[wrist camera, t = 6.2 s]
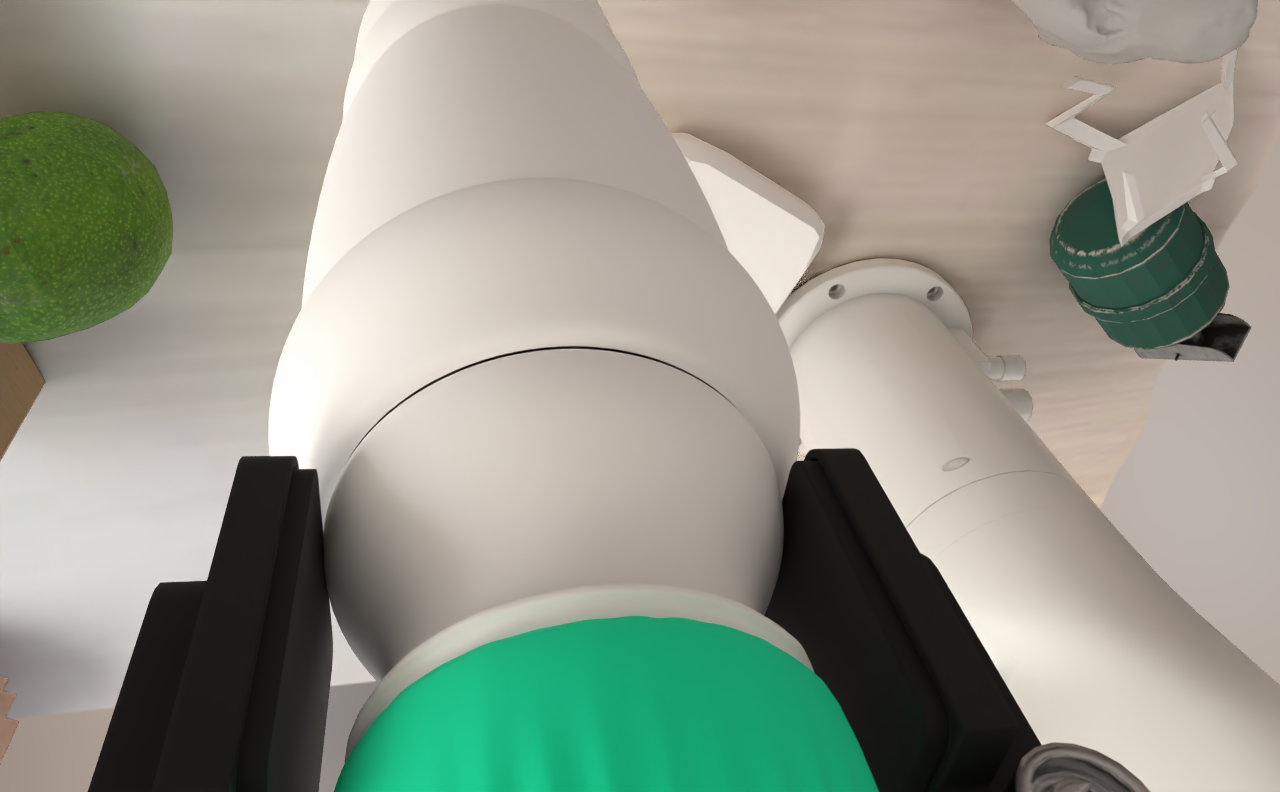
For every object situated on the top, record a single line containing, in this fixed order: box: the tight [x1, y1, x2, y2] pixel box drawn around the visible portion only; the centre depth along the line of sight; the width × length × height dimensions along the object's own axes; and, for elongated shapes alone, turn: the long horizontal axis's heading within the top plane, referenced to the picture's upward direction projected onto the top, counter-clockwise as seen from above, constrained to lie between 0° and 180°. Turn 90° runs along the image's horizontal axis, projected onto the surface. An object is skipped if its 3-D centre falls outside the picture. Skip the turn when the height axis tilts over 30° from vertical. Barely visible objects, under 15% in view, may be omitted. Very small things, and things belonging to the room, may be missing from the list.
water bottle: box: [269, 0, 879, 792], centre depth 17 cm, size 7×7×25 cm
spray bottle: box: [671, 133, 825, 315], centre depth 49 cm, size 3×11×24 cm
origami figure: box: [1045, 49, 1238, 247], centre depth 44 cm, size 12×8×5 cm
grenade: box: [1050, 179, 1251, 362], centre depth 50 cm, size 7×7×12 cm
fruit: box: [0, 112, 173, 344], centre depth 35 cm, size 8×8×12 cm
